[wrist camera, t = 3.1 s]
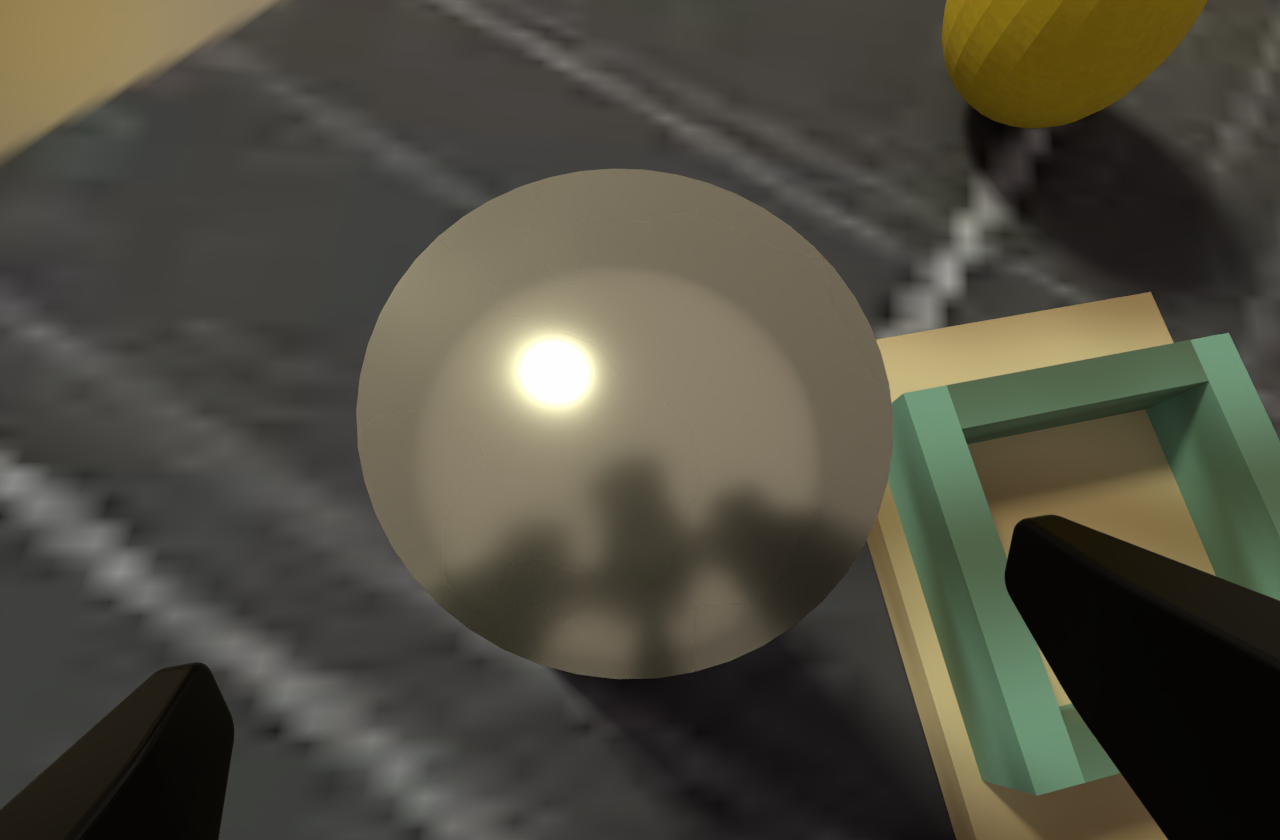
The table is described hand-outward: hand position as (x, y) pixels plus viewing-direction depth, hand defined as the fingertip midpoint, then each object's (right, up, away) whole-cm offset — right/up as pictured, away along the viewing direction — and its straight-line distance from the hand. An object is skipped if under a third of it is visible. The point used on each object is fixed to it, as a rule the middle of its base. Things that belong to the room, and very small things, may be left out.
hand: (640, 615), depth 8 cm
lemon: (+10, +11, +14) cm, 21 cm away
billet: (-1, -1, +9) cm, 9 cm away
